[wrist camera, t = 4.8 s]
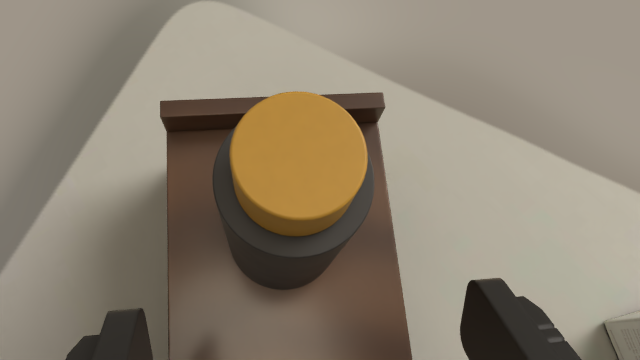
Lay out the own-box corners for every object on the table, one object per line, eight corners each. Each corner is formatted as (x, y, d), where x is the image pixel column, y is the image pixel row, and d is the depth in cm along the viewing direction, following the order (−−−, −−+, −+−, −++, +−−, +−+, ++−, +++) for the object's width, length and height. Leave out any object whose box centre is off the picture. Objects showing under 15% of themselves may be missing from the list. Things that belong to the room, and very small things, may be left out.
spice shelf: (381, 362, 27) (425, 367, 20) (188, 383, 26) (161, 397, 19) (354, 152, 31) (383, 92, 24) (184, 161, 29) (159, 100, 22)
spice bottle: (255, 309, 22) (250, 277, 12) (211, 208, 23) (176, 107, 13) (355, 261, 23) (423, 198, 13) (309, 167, 24) (341, 47, 14)
